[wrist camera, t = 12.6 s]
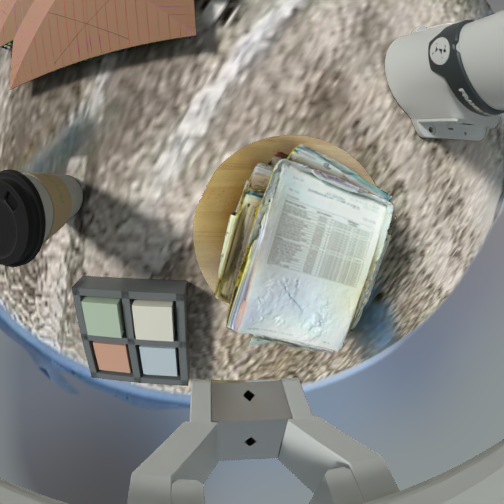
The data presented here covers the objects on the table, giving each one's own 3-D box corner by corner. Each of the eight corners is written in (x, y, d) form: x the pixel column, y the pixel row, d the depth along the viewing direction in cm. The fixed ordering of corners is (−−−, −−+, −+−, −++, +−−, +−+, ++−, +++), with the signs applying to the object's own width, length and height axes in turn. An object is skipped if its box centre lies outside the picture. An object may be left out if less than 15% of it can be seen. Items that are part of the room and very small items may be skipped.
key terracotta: (128, 337, 40) (125, 345, 38) (132, 364, 41) (130, 373, 39) (96, 334, 39) (92, 342, 37) (102, 361, 41) (99, 369, 39)
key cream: (173, 299, 38) (171, 307, 36) (174, 333, 39) (173, 341, 37) (135, 298, 37) (131, 305, 35) (138, 331, 38) (135, 339, 37)
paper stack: (159, 265, 39) (130, 337, 23) (261, 98, 34) (297, 60, 18) (308, 340, 46) (346, 418, 30) (402, 204, 40) (484, 236, 25)
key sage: (120, 297, 37) (116, 304, 35) (124, 330, 38) (121, 338, 36) (86, 295, 36) (81, 301, 34) (92, 327, 38) (87, 334, 36)
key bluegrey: (176, 340, 41) (175, 349, 39) (178, 367, 42) (177, 376, 40) (141, 338, 40) (139, 346, 38) (145, 365, 42) (143, 374, 40)
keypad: (186, 280, 40) (184, 293, 36) (189, 368, 45) (188, 385, 41) (82, 275, 38) (71, 287, 34) (98, 361, 43) (92, 377, 39)
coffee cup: (102, 172, 34) (43, 186, 20) (85, 240, 37) (30, 287, 22) (45, 154, 32) (-26, 162, 18) (31, 219, 34) (-34, 253, 20)
